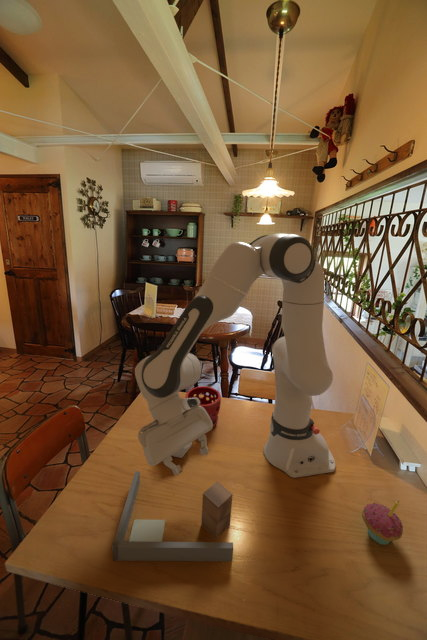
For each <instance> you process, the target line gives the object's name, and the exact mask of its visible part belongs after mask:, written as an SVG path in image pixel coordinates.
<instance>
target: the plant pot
mask: <svg viewBox="0 0 427 640" xmlns="http://www.w3.org/2000/svg"><path fill="white" fill-rule="evenodd" d="M207 393H208V394H207ZM200 394H203V397H200ZM185 398H198V399H199V400H200V405H198V406H202V407H203V408H204V409H205V410H206V412H207V413H208V415H209V417H210V419H211V421H212V423H213V427H215V426H216V425H217V424H218V421H219V413H220V410H221V403H222V402H221V401H222V399H221V398H222V397H221V392H219V390H217V389H215V388H214V387H210V386H201V385H200V386H196V387H194V388H191V389H190V390H189V389H188V391H187V392H186V394H185ZM207 398H208V399H207Z"/></svg>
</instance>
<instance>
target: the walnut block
mask: <svg viewBox="0 0 427 640" xmlns="http://www.w3.org/2000/svg"><path fill="white" fill-rule="evenodd" d="M201 503H202V505H201V506H202V507H201V526H202V527H203V528H204V529H205V530H206V531H207V532H208V533H209V534H210V535H211V536H212V537H213V538H214V539H215V540H216V541H217V540H218V538H220V536H222V535H223V533H224V532H225V531H227V529H228V528H229V527H230V525H231V517H232V504H233V493H232V492H231V491H230V490H228V488H226V487H225V486H224V485H222V484H221V483H220V482H219V481H216V482H214V483H213V484H212V485H211V486H210V487H208V489H207V490H205V491H204V492H203V493H202V502H201Z"/></svg>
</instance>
